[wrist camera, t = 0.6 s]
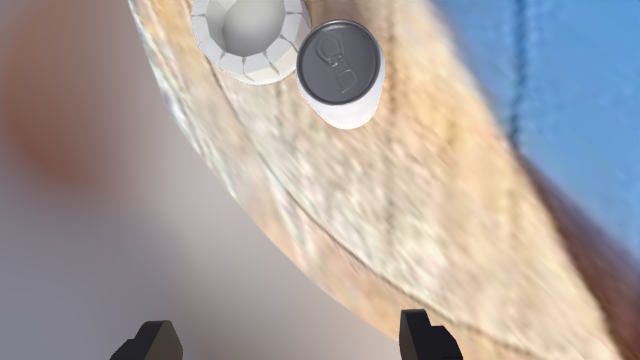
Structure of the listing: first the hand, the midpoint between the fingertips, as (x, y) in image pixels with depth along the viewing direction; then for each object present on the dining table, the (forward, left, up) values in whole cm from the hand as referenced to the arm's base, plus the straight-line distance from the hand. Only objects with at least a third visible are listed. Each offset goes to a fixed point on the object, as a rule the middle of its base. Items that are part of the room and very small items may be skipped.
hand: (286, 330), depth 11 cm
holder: (-16, -14, -23) cm, 31 cm away
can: (-12, -3, -23) cm, 26 cm away
